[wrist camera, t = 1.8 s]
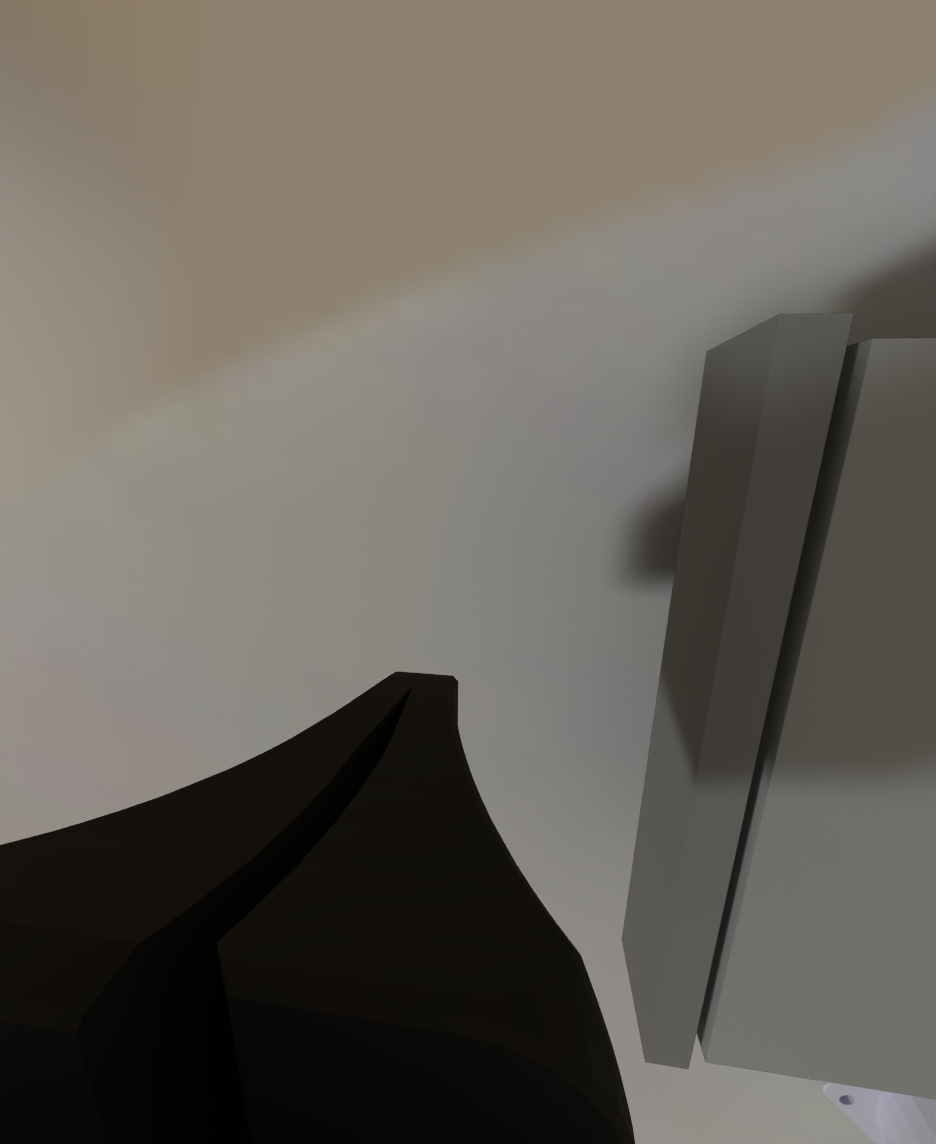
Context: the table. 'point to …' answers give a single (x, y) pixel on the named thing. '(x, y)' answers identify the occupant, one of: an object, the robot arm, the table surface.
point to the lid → (798, 722)
